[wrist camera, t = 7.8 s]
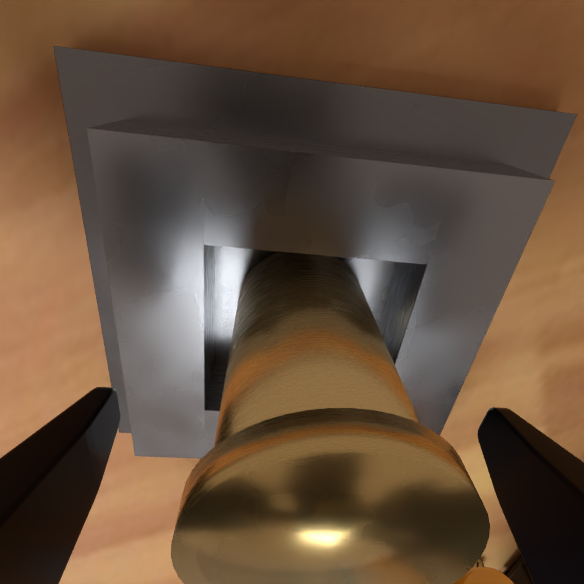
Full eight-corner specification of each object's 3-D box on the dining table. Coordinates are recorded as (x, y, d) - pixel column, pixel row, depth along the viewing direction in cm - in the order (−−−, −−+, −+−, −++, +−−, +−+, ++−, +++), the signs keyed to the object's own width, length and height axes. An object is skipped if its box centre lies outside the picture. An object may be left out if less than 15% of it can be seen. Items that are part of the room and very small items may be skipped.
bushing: (388, 243, 12) (546, 461, 5) (357, 366, 15) (434, 624, 8) (228, 229, 12) (161, 447, 5) (225, 358, 14) (177, 626, 7)
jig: (558, 112, 11) (645, 121, 8) (424, 431, 18) (450, 490, 15) (69, 48, 10) (-6, 35, 7) (125, 417, 17) (97, 480, 14)
